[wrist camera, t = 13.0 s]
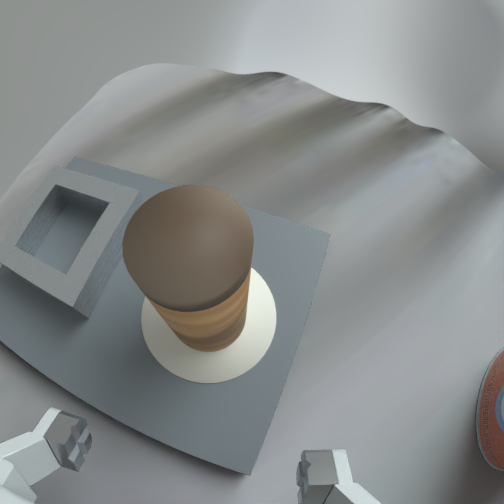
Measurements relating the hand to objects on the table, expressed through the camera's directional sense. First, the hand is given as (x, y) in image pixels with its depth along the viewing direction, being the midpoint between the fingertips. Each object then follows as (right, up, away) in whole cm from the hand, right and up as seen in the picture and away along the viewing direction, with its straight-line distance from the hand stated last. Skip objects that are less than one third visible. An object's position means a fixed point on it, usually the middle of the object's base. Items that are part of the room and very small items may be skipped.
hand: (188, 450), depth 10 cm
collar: (-10, +8, +11) cm, 17 cm away
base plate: (-6, +5, +10) cm, 13 cm away
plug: (0, +3, +9) cm, 9 cm away
